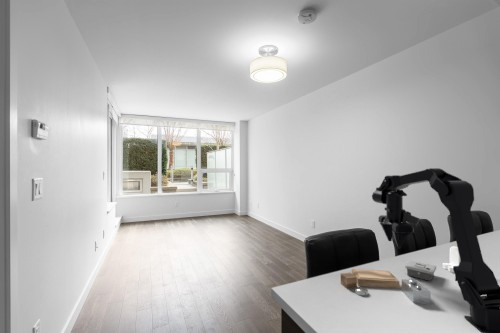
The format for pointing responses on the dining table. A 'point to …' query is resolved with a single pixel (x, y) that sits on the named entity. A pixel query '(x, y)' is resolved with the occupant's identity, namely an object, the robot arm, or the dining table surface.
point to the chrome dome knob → (361, 291)
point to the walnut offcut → (348, 280)
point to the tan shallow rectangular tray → (375, 278)
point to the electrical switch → (420, 270)
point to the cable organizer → (452, 259)
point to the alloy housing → (415, 291)
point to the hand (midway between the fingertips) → (394, 244)
